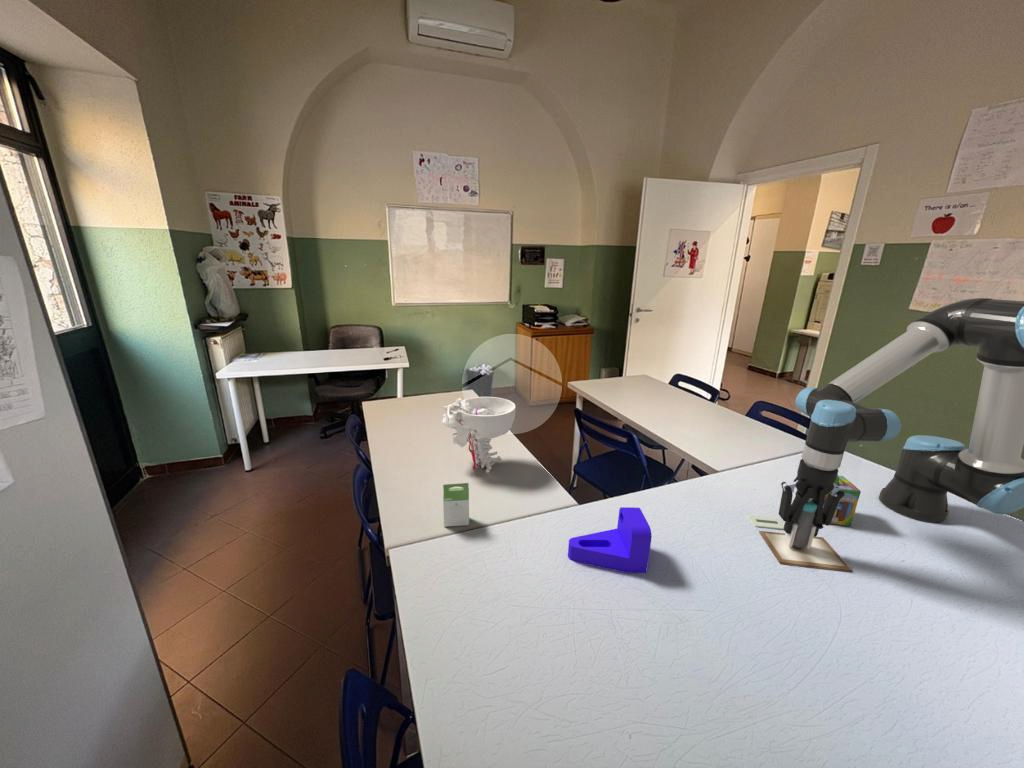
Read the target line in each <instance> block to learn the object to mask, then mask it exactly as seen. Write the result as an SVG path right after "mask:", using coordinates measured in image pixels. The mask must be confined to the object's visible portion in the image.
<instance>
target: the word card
mask: <svg viewBox="0 0 1024 768" xmlns="http://www.w3.org/2000/svg"><path fill="white" fill-rule="evenodd" d="M747 515H748V516H747V517H748V519H749V520H750V521H751V523H752V525H753V526H754V527H755V528H763V529H772V530H773V529H774V530H781V531H783V530H784V525H785V524H783V522H782V521H781V520H780V519H779V517H774V516H773V517H772V516H763V515H762V516H761V515H753V514H747Z"/></svg>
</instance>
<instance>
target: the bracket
mask: <svg viewBox="0 0 1024 768" xmlns="http://www.w3.org/2000/svg"><path fill="white" fill-rule="evenodd" d="M617 519H618V520H617V526H616V528H613V529H609V530H603V531H598V532H594V533H590V534H584V535H579V536H575V537H571V538H569V539H568V546H567V547H568V548H567V558H568V559H569V560H570V561H571V562H574V563H579V564H584V565H588V566H594V567H598V568H603V569H607V570H613V571H618V572H620V573H621V572H622V573H627V574H647V571H648V566H649V558H650V551H651V546H652V545H651V544H652V529H651V527H650V525H649V522H648V521H647V519H646V517H645V515H644V513H643V510H642V509H641V508H640V507H635V506H634V507H631V506H630V507H622V506H620V508H619V509H618V518H617Z"/></svg>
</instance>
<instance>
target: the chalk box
mask: <svg viewBox="0 0 1024 768" xmlns="http://www.w3.org/2000/svg"><path fill="white" fill-rule="evenodd" d="M834 487H838V488H840V489H841V490H842V491H843V492H844V493H845V495H844V496H843V497H842V498H841V499H840V500H839V503H838V505H837V508H836V511H835V513H834V516H833V518H832V521H831V523H830V525H838V526H845V527H846V526H847V527H852V523H853V520H854V516H855V512H856V510H857V506H858V503H859V498H860V495H861V490H860V489H859V488H858V487H857V486H855V484H853V483H852V482H851V481H849V480H848V479H847V478H845V477H844V475H839V473H838V474H837V477H836V481H835V483H834ZM828 494H829V493H828ZM828 494H827V495H825V502H826V499H827V496H828ZM811 500H812V498H811ZM824 504H825V503H824ZM824 504H823V507H824Z"/></svg>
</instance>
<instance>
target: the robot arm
mask: <svg viewBox="0 0 1024 768" xmlns="http://www.w3.org/2000/svg"><path fill="white" fill-rule="evenodd" d="M957 345H958V346H959V345H963V346H964V345H965V346H969V347H973V348H974V347H975V348H977V353H976V360H977V361H978V362H980V363H981V364H982V365H983V366H984V367H983V370H982V371H983V372H982V377H981V382H980V388H979V392H978V397H977V398H978V399H977V404H976V408H975V413H974V419H973V424H972V427H971V428H972V429H971V433H970V440H969V445H968V448H966V445H965V444H964V443H963V442H960V441H958V440H954V439H951V438H945V437H941V436H935V435H934V436H933V435H925V434H923V435H922V434H921V435H920V434H918V435H917V434H916V435H912V436H909V437H908V438H907V439H906V442H905V443H904V446H903V447H902V451H901V454H900V458H899V461H898V463H897V466H896V469H895V472H894V475H893V477H892V479H890V481H889V482H888V483H887V484H886V486H885V487H883V488H882V489H881V491H880V492H879V495H878V500H879V501H880V503H881V504H882V505H883V506H884V507H887V508H888V509H890V510H892V511H893V512H896V513H898V514H900V515H903V516H904V517H908V518H911V519H914V520H918V521H920V522H921V521H922V522H927V523H935V524H936V523H943V522H946V520H947V518H948V515H949V504H948V503H949V502H948V495H947V494H948V493H950V494H952V495H955V496H956V497H958V498H960V499H962V500H965V501H967V502H969V503H972V504H973V505H975V506H976V507H978V508H980V509H984V510H986V511H989V512H991V513H993V514H996V515H1010V514H1012V513H1013V514H1014V513H1015V512H1018V511H1020V510H1021V509H1023V508H1024V458H1022V453H1023V449H1024V300H1011V299H1010V300H1009V299H998V298H997V299H995V298H988V297H985V298H984V297H976V298H967V299H964V300H960V301H956V302H952V303H949V304H946V305H944V306H942V307H939V308H937V309H934V310H932V311H930V312H928V313H926V314H924V315H923V316H921V317H918V319H916V320H915V321H913V322H912V323H910V324H908V325H907V328H906V332H904V333H902V334H901V335H899V336H898V337H895V339H893V340H891V341H890V342H889V343H887V344H886V345H884V346H883V347H881V348H880V349H878V350H877V351H875V352H873V353H872V354H871V355H869V356H868V357H866V358H865V359H863V360H862V361H859V363H857V364H855V365H854V366H852V367H851V368H850V369H848V370H847V371H845V372H844V373H842V374H841V375H839V376H838V377H836V378H835V379H833V380H831V381H830V382H828V383H827V384H825V385H824V386H823V387H821V388H818V387H805V388H804V389H802V390H800V392H799V393H798V394H797V395H796V398H795V406H796V408H797V410H798V411H799V412H801V413H802V414H804V415H806V416H807V417H809V418H810V422H809V427H808V431H807V434H806V439H805V441H804V446H803V449H802V454H801V459H800V461H799V464H798V468H797V475H796V477H795V478H794V480H793V481H792V482H786V481H782V482H781V484H780V485H781V488H782V493H781V497H780V503H779V509H778V515H779V517H780V518H781V519H782V521H783V522H784V524H783V525H784V533H785V537H784V541H785V542H786V543H787V545H788V546H789V547H792V545H793V542H794V538H795V534H796V531H797V527H798V525H797V524H796V523H795V522H796V520H797V518H798V516H799V515H800V513H801V511H802V509H803V507H804V505H805V503H807V502H808V500H809V499H811V498H812V500H813V501H814V502H815V503H816V504H817V509H816V512H815V515H814V518H813V522H812V525H811V529H810V532H809V535H808V539H807V542H806V546H805V547H806V548H807V549H810V547H811V544H812V540H813V537H818V534H819V530H822V529H823V528H824V526H830V525H831V524H830V523H831V521H832V518H833V516H834V513H835V511H836V508H837V505H838V503H839V500H840V499H841V498H842V497H843V496H844V495H845V493H844V492H843V491H842V490H841V489H840V488H838V487H834V483H835V481H836V477H837V474H838V475H839V468H841V464H842V460H843V457H844V453H845V450H846V447H847V445H848V442H849V443H854V442H855V443H856V442H881V441H887V440H888V441H889V440H892V439H894V438H896V437H897V436H898V435H899V433H900V432H901V428H902V422H901V420H900V418H899V416H898V414H896V413H895V412H894V411H892V410H890V409H885V408H880V407H879V408H869V407H866V406H864V405H861V404H858V402H859V401H860V400H863V398H865V397H867V396H868V395H870V394H871V393H873V392H874V391H876V390H878V389H879V388H880V387H882V386H883V385H885V384H887V383H889V382H890V381H891V380H893V379H894V378H896V377H897V376H899V375H901V374H902V373H904V372H905V371H907V370H908V369H909V368H912V367H913V366H915V365H916V364H917V363H919V362H920V361H922V360H923V359H925V358H926V357H928V356H930V355H931V354H933V353H940V352H943V351H945V350H947V349H949V348H950V347H953V346H957ZM795 489H796V492H795ZM793 493H795V496H794V495H793ZM828 493H829V494H828ZM827 494H828V496H827V499H826V502H825V495H827ZM793 496H794V499H793ZM824 503H825V504H824ZM823 504H824V507H823Z"/></svg>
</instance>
